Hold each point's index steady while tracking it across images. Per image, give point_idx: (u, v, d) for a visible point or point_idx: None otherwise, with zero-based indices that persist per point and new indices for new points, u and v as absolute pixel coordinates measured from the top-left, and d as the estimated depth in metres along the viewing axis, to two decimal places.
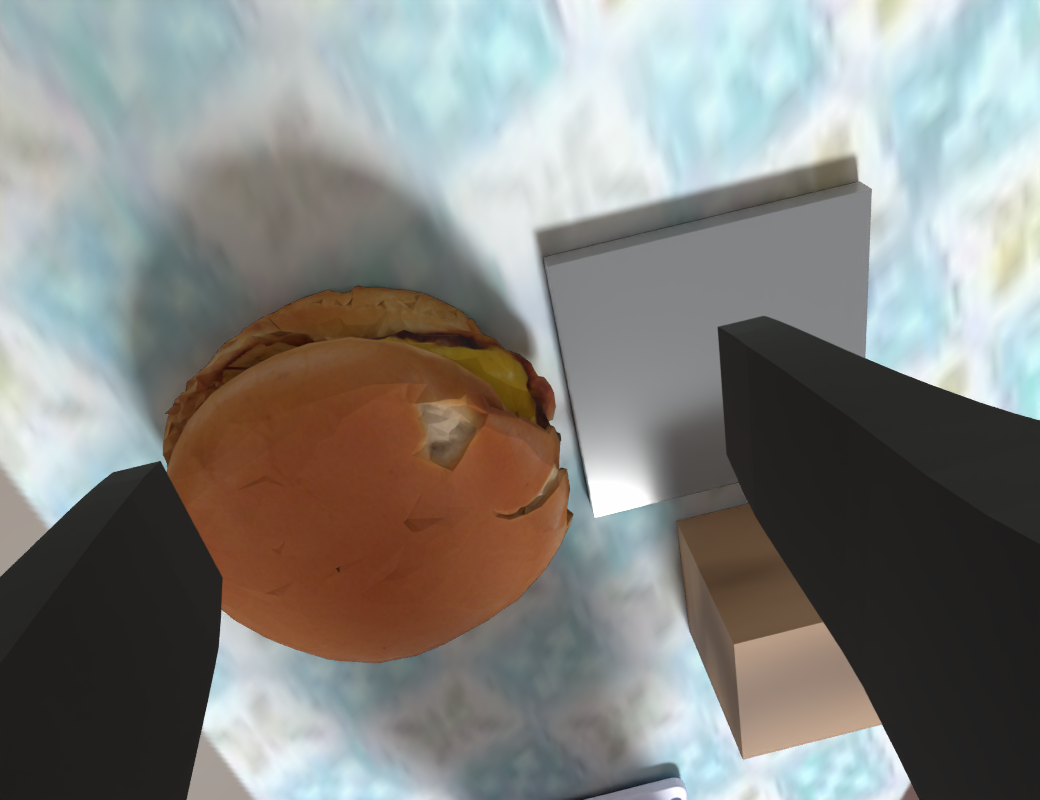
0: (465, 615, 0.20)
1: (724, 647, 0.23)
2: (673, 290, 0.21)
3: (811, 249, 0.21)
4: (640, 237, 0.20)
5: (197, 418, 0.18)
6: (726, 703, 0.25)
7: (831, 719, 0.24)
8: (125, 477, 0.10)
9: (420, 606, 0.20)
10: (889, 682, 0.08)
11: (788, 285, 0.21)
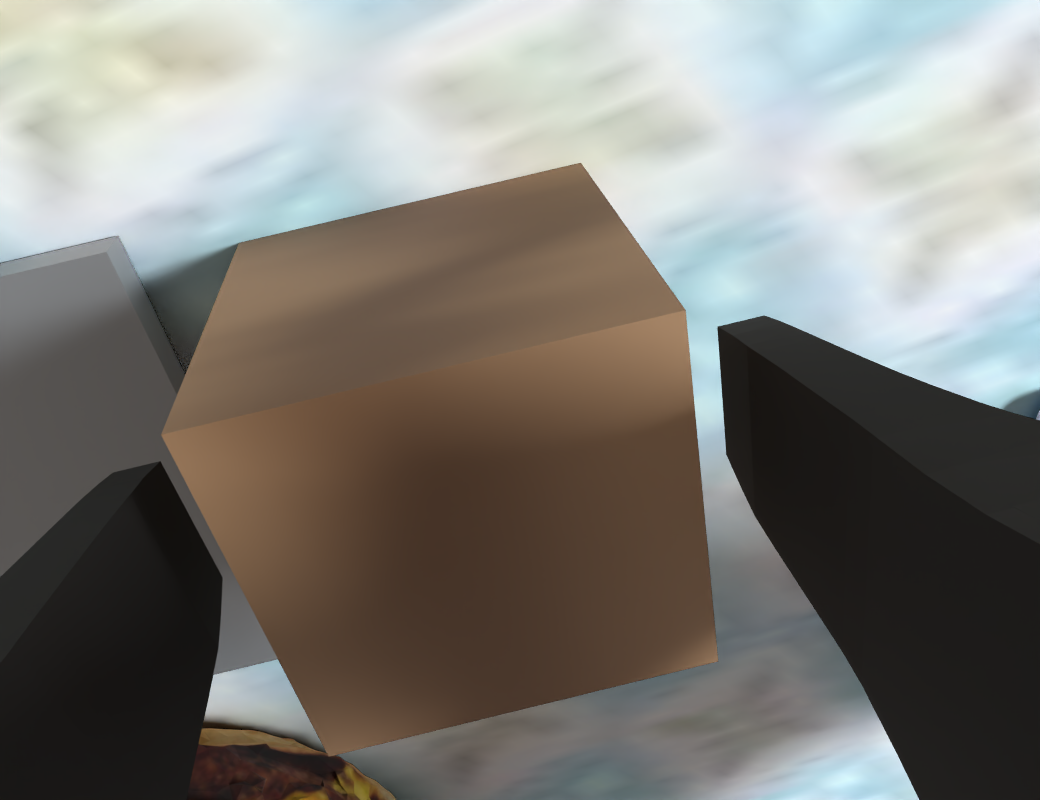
0: None
1: None
2: None
3: None
4: None
5: None
6: None
7: (629, 518, 0.09)
8: (125, 477, 0.10)
9: None
10: (889, 682, 0.08)
11: None
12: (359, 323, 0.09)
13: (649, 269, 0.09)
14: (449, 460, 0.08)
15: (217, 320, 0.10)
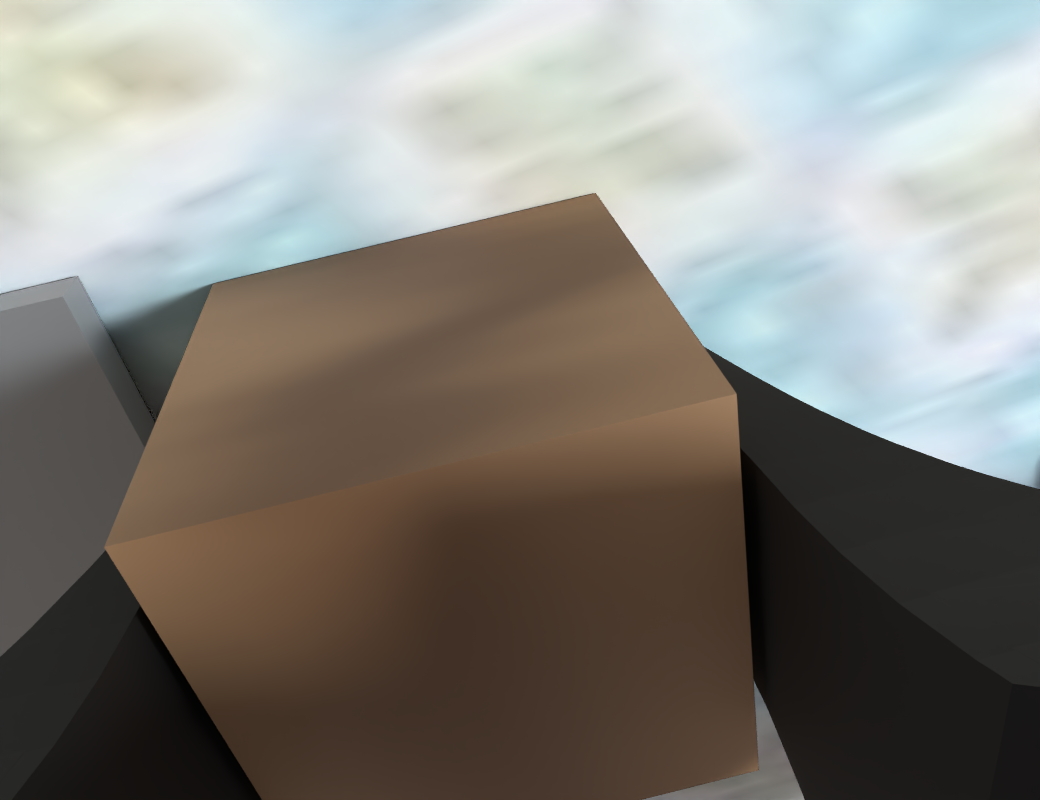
0: None
1: None
2: None
3: None
4: None
5: None
6: None
7: (661, 624, 0.08)
8: None
9: None
10: (786, 708, 0.08)
11: None
12: (345, 398, 0.08)
13: (687, 336, 0.07)
14: (453, 568, 0.07)
15: (181, 388, 0.08)
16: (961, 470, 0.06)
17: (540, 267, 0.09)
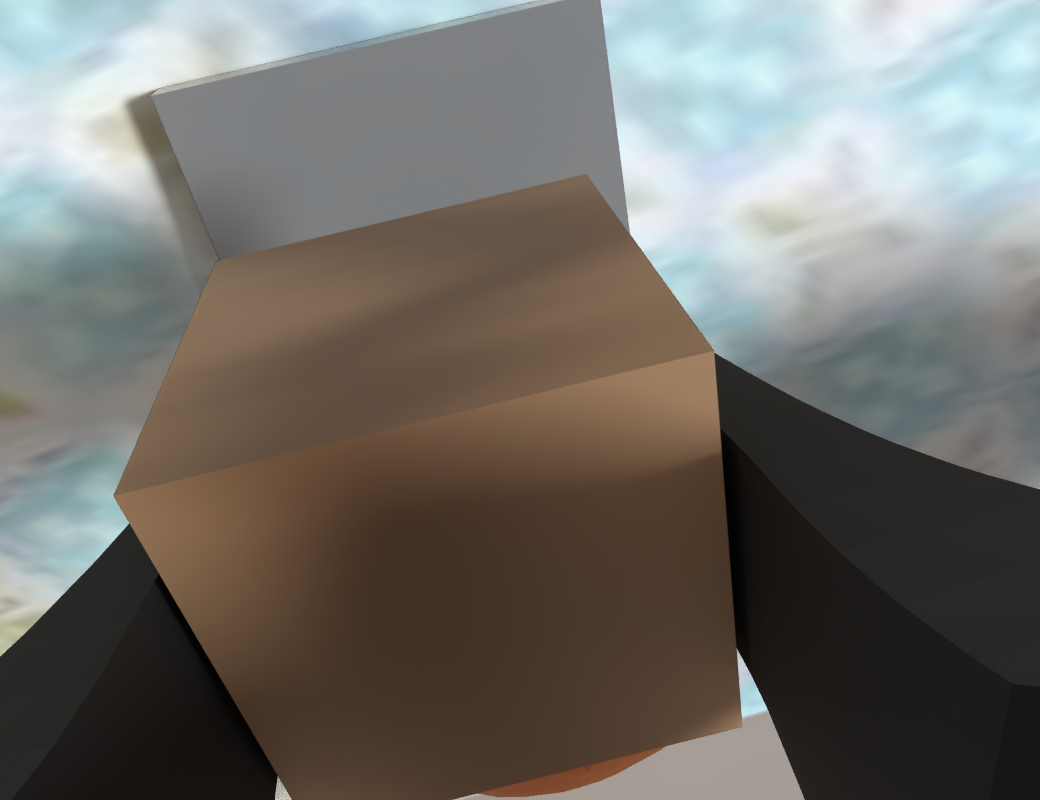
0: None
1: None
2: None
3: (249, 164, 0.15)
4: None
5: None
6: None
7: (646, 578, 0.08)
8: None
9: None
10: (786, 708, 0.08)
11: (305, 185, 0.16)
12: (342, 361, 0.08)
13: (669, 300, 0.08)
14: (444, 519, 0.07)
15: (185, 355, 0.09)
16: (961, 470, 0.06)
17: (531, 241, 0.09)
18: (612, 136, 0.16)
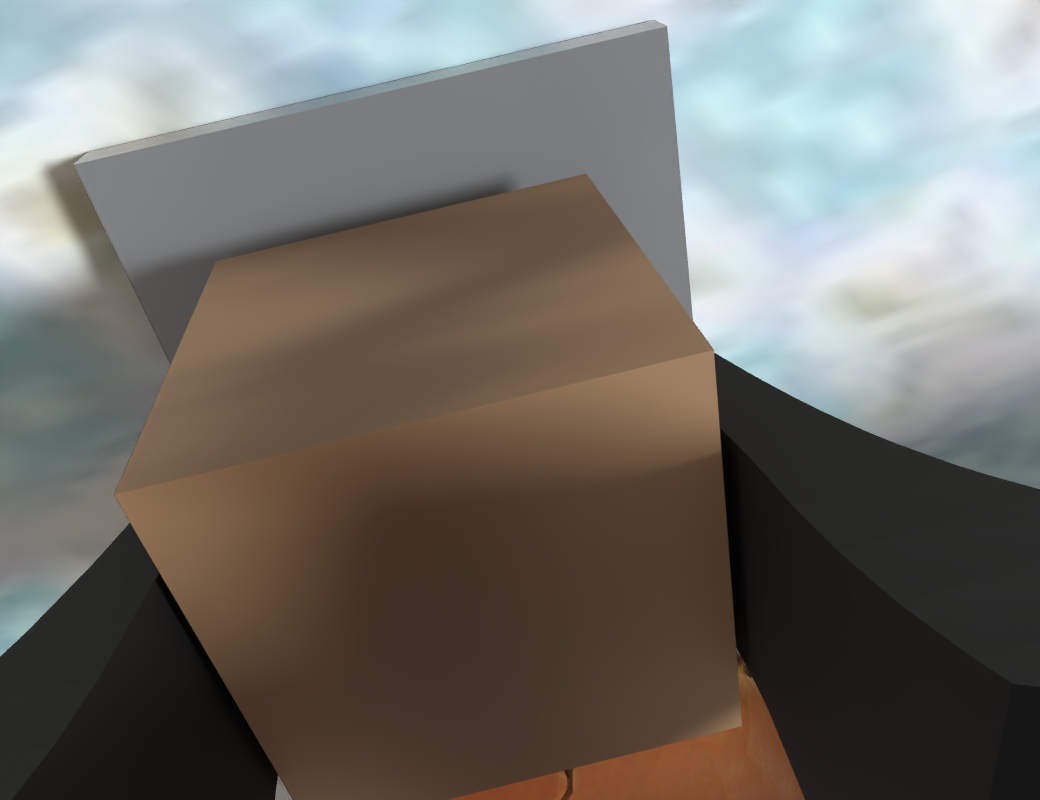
0: None
1: None
2: None
3: (207, 249, 0.12)
4: None
5: None
6: None
7: (646, 577, 0.08)
8: None
9: None
10: (786, 708, 0.08)
11: None
12: (343, 362, 0.08)
13: (668, 300, 0.08)
14: (446, 518, 0.07)
15: (185, 355, 0.09)
16: (961, 470, 0.06)
17: (531, 241, 0.10)
18: (676, 208, 0.12)
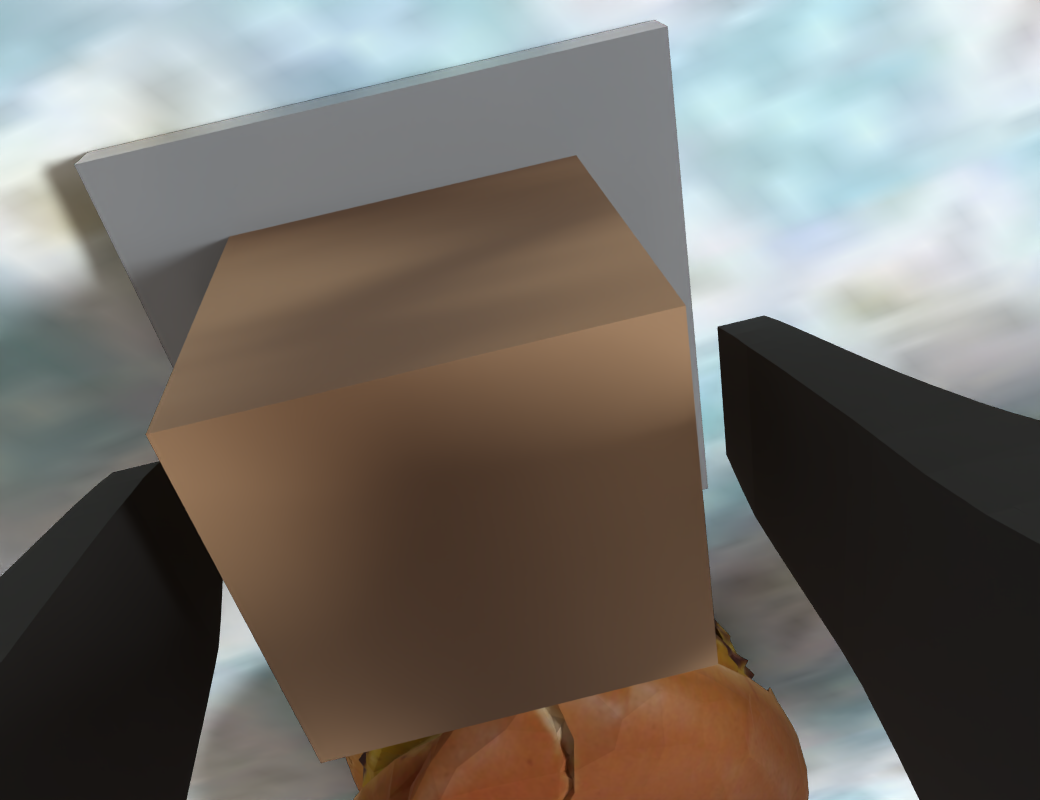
0: None
1: None
2: None
3: (208, 249, 0.12)
4: None
5: None
6: None
7: (626, 519, 0.09)
8: (125, 477, 0.10)
9: None
10: (889, 682, 0.08)
11: None
12: (350, 320, 0.09)
13: (647, 264, 0.08)
14: (443, 460, 0.08)
15: (204, 317, 0.09)
16: None
17: (523, 215, 0.10)
18: (676, 208, 0.12)
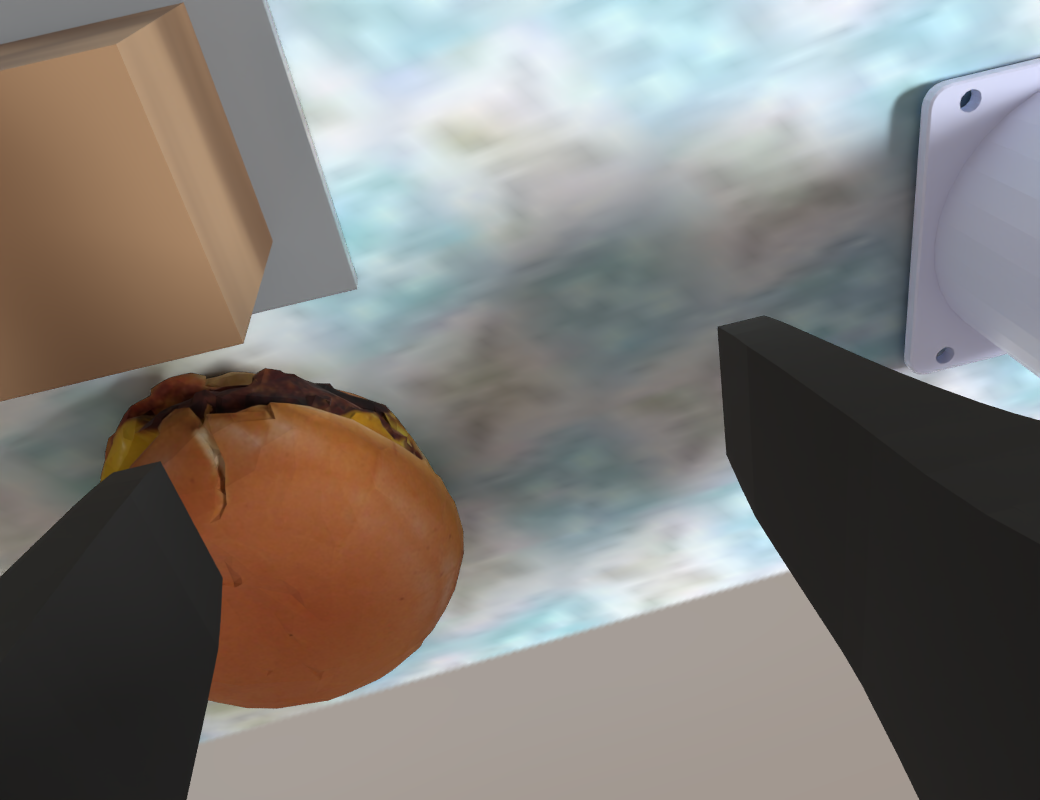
0: (360, 536, 0.19)
1: None
2: None
3: None
4: None
5: None
6: None
7: (130, 211, 0.13)
8: (125, 477, 0.10)
9: (335, 580, 0.19)
10: (890, 682, 0.08)
11: None
12: None
13: (128, 34, 0.13)
14: None
15: None
16: None
17: (104, 28, 0.15)
18: (272, 47, 0.17)
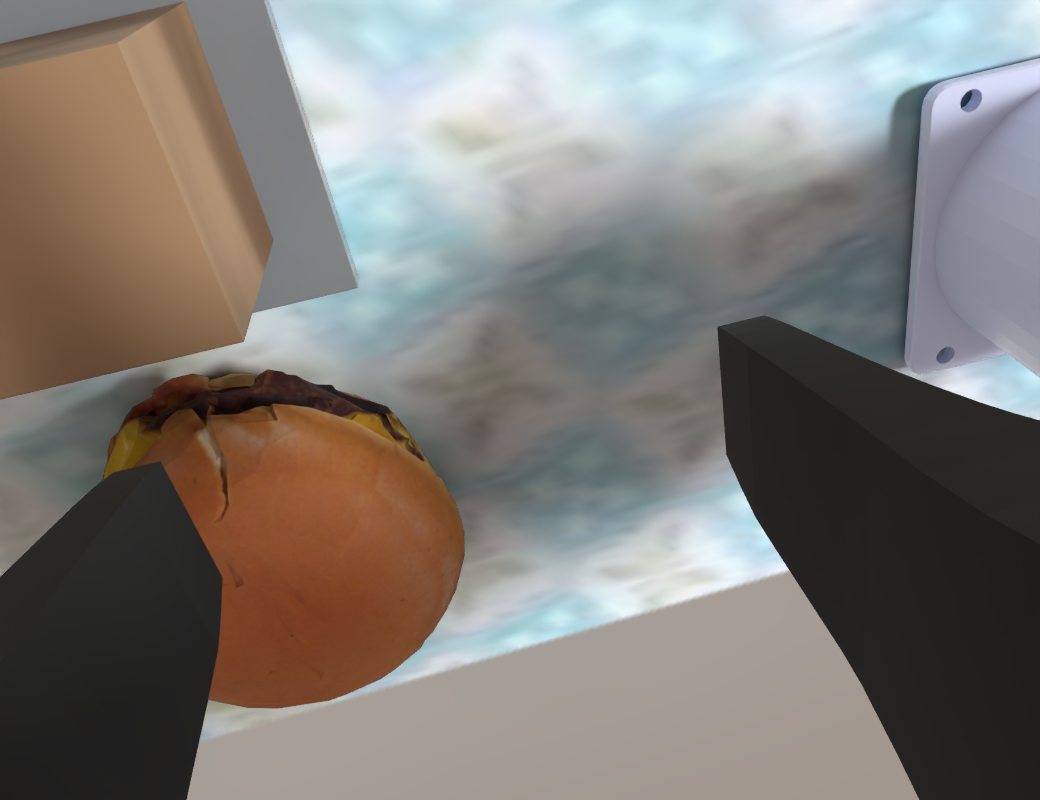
0: (362, 537, 0.19)
1: None
2: None
3: None
4: None
5: None
6: None
7: (131, 210, 0.13)
8: (125, 477, 0.10)
9: (336, 581, 0.19)
10: (889, 682, 0.08)
11: None
12: None
13: (129, 32, 0.13)
14: None
15: None
16: None
17: (106, 27, 0.15)
18: (273, 46, 0.17)
